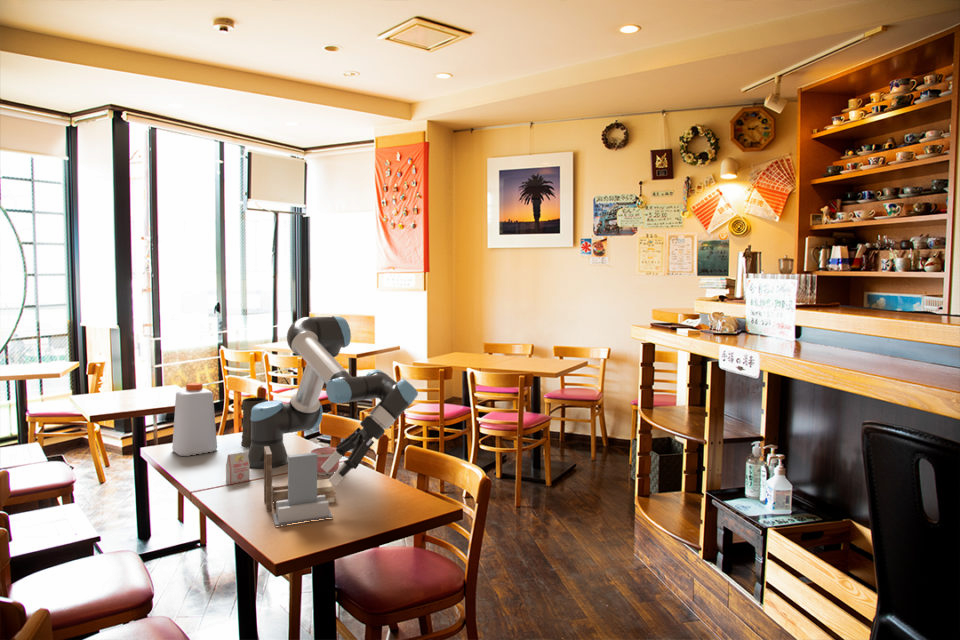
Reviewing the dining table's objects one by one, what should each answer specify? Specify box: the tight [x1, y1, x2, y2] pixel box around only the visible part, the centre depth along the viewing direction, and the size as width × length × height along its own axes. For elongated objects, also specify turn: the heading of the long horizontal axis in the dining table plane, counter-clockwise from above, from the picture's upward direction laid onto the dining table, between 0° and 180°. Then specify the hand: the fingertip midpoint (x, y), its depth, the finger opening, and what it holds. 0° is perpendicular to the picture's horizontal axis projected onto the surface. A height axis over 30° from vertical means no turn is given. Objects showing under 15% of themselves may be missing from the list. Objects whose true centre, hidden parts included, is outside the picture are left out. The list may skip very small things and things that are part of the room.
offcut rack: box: [263, 446, 336, 511], centre depth 184 cm, size 21×10×18 cm, turn 115°
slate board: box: [287, 452, 318, 506], centre depth 171 cm, size 8×2×18 cm, turn 115°
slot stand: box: [271, 495, 334, 527], centre depth 171 cm, size 16×9×5 cm, turn 115°
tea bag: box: [225, 451, 251, 485], centre depth 203 cm, size 4×7×10 cm, turn 133°
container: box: [310, 446, 340, 476], centre depth 215 cm, size 10×10×8 cm
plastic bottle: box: [171, 382, 218, 457], centre depth 239 cm, size 15×15×28 cm
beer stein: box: [240, 397, 267, 448], centre depth 250 cm, size 15×11×20 cm
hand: (327, 476), depth 174 cm, fingers open, 13 cm apart
